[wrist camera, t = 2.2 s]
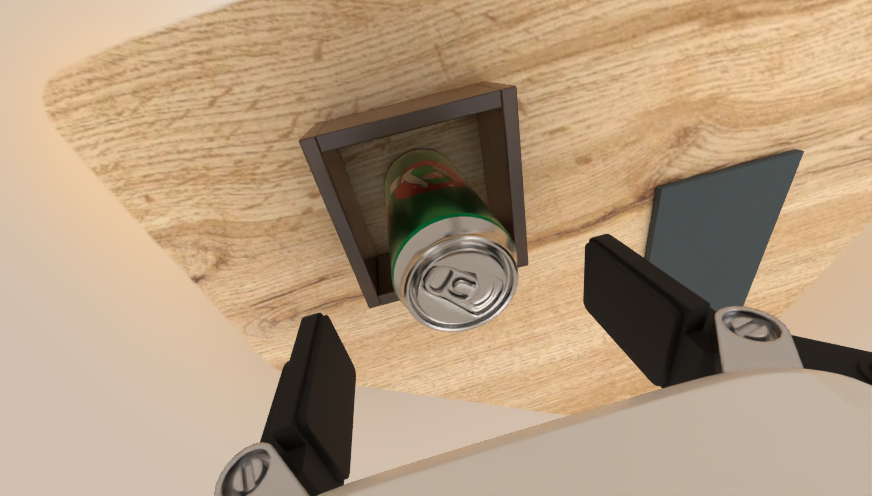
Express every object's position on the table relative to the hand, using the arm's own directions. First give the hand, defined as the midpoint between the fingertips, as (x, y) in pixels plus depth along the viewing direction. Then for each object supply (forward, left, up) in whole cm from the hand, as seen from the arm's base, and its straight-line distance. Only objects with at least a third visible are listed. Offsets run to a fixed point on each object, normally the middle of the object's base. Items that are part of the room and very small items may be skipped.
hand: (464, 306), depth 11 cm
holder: (0, 0, -13) cm, 13 cm away
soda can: (0, 0, -13) cm, 13 cm away
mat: (+14, +24, -13) cm, 30 cm away
